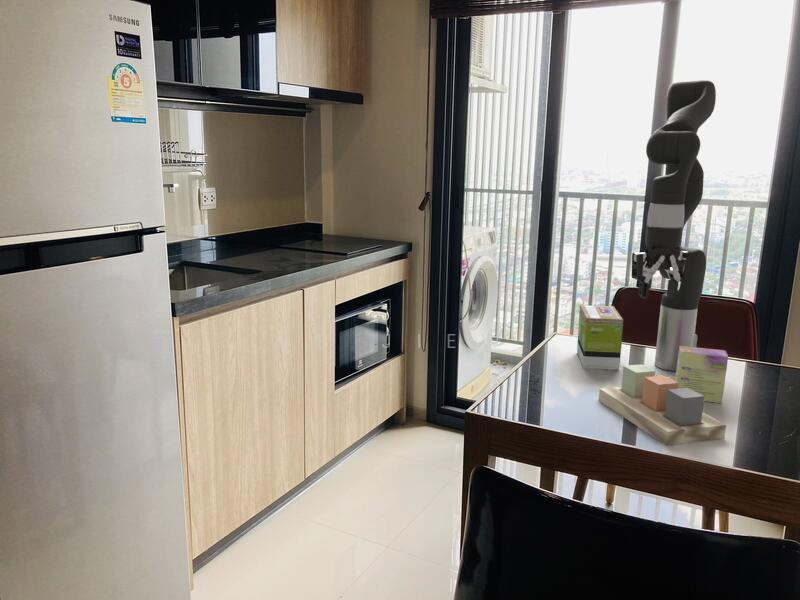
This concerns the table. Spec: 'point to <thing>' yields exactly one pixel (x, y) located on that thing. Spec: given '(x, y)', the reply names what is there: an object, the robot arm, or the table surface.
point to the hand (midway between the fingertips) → (657, 297)
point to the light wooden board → (660, 420)
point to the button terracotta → (657, 392)
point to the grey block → (684, 407)
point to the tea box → (599, 337)
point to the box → (702, 371)
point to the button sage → (635, 379)
